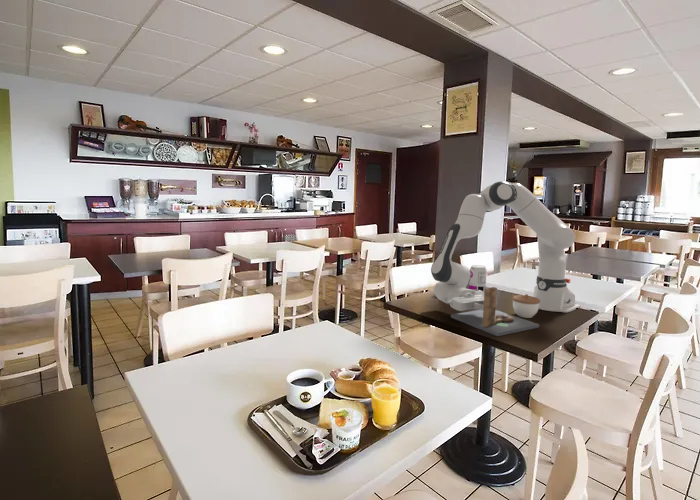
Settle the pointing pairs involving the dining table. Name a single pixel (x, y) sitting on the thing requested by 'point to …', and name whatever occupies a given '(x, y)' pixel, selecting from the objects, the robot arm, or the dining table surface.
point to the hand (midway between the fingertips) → (488, 307)
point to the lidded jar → (525, 305)
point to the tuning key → (492, 309)
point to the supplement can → (478, 278)
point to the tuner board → (499, 328)
